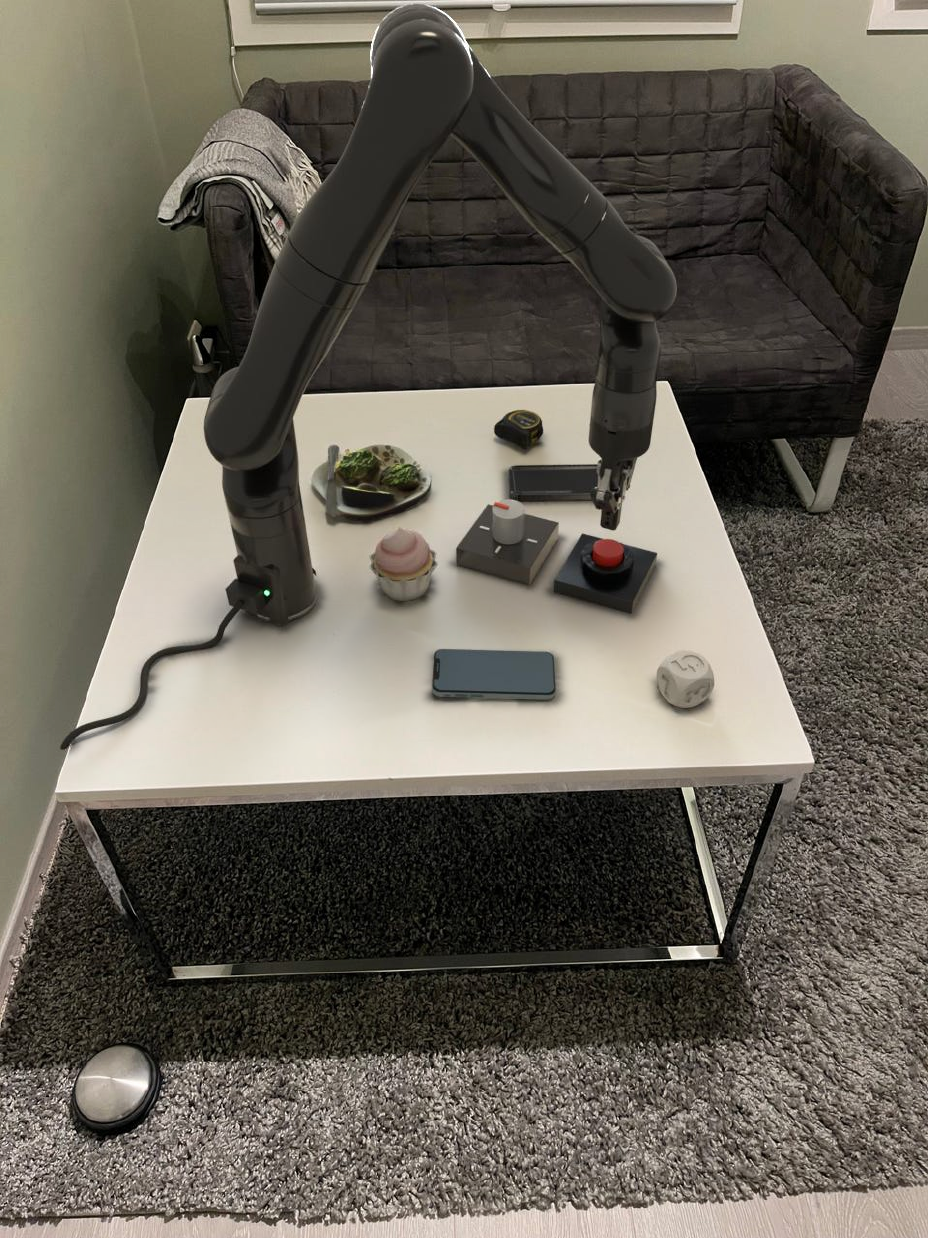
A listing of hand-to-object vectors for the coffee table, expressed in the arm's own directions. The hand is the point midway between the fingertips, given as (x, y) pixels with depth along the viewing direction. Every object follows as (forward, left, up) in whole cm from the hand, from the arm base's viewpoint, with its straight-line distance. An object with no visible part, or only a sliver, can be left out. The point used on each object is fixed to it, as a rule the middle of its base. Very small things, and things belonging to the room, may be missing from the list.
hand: (609, 526), depth 133 cm
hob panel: (0, +14, -9) cm, 17 cm away
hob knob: (0, +14, -6) cm, 16 cm away
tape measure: (+27, +23, -9) cm, 37 cm away
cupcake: (-12, +24, -9) cm, 29 cm away
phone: (+18, +13, -9) cm, 24 cm away
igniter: (0, 0, -9) cm, 9 cm away
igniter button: (0, 0, -5) cm, 5 cm away
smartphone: (-23, +6, -9) cm, 26 cm away
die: (-16, -16, -9) cm, 24 cm away
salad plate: (+6, +39, -9) cm, 41 cm away
